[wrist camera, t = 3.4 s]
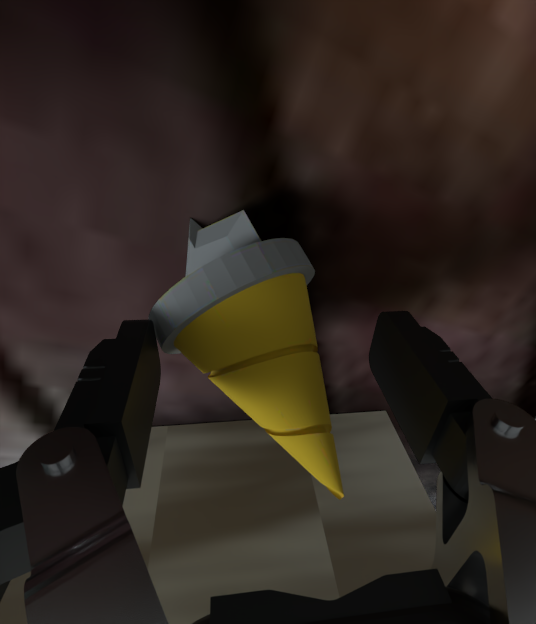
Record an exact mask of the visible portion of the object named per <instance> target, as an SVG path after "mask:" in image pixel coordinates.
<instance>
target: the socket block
mask: <svg viewBox="0 0 536 624" xmlns="http://www.w3.org/2000/svg"><path fill="white" fill-rule="evenodd" d="M330 420H331V425H332V429H331V432H330V433H331V434H333V436H334V442H335V447H336V453H337V459H338V464H339V470H340V475H341V481H342V487H343V493H344V497H343V498H341V500H339V499H338V498H336V497H335V496H334V495H333V494H332V493H331V492H330V491H329V490H328V489H327V487H326V486H325V485H323V484H322V483H320V482H319V481H318V480H317V479H316V478H315V477H314V476H313V475H312V474H311V473H310V472H308V471H307V470H306V469H305V468H304V467H303V466H302V465H301V464H300V463H299V462H298V461H297V460H296V459H295V458H294V457H292V456H291V455H290V454H289V453H288V452H287V451H286V450H285V449H284V448H283V447H282V446H281V445H280V444H279V443H277V442H276V441H275V440H274V439H273V438H272V437H271V436H270V435H269V434H268V433H267V432H266V431H265V429H264V428H262V427H260V426H259V425H258V424H257V423H256V422H255V421H254V420H244V421H230V422H215V423H201V424H187V425H172V426H158V427H152V428H151V433H150V439H149V444H148V449H147V455H146V460H145V465H144V471H143V476H142V482H141V487H140V488H134V489H126V492H125V497H124V502H123V506H122V507H123V509H124V512H125V515H126V517H127V519H128V521H129V523H130V526H131V528H132V531H133V533H134V536H135V539H136V541H137V544H138V546H139V549H140V552H141V554H142V557H143V559H144V562H145V564H146V567H147V570H148V572H149V575H150V577H151V580H152V582H153V585H154V588H155V590H156V593H157V595H158V598H159V601H160V603H161V606H162V608H163V611H164V613H165V616H166V619H167V621H168V624H192V623H194V622H195V621H197V620H198V619H200V618H202V617H204V616H206V615H209V614H210V597H213V596H221V595H229V594H237V593H245V592H253V591H261V590H269V589H270V590H275V591H280V592H286V593H291V594H296V595H301V596H307V597H312V598H317V599H322V600H335V599H338V598H340V597H342V596H344V595H346V594H348V593H350V592H352V591H354V590H356V589H358V588H360V587H362V586H364V585H366V584H368V583H370V582H372V581H374V580H376V579H378V578H380V577H382V576H384V575H388V574H396V573H404V572H412V571H420V570H428V569H431V567H432V564H433V560H434V556H435V546H436V511H435V509H434V507H433V505H432V503H431V501H430V499H429V497H428V495H427V493H426V491H425V489H424V487H423V485H422V483H421V481H420V479H419V477H418V475H417V472H416V470H415V468H414V466H413V464H412V462H411V460H410V458H409V456H408V454H407V452H406V450H405V448H404V446H403V444H402V442H401V440H400V438H399V436H398V434H397V432H396V430H395V428H394V426H393V424H392V422H391V420H390V418H389V416H388V414H387V412H386V411H374V412H359V413H345V414H330ZM30 576H31V571H30V572H28V573H26V574H23V575H21V576H19V577H17V578H14V579H12V580H11V581H10V583H9V585H8V587H7V589H6V591H5V593H4V595H3V597H2V599H1V602H0V624H27V617H26V610H25V602H24V584H25V581H26V579H27V578H29V577H30Z"/></svg>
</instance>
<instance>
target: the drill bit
mask: <svg viewBox="0 0 536 624" xmlns="http://www.w3.org/2000/svg"><path fill="white" fill-rule="evenodd" d="M314 274H315V270H314V268H313V266H312V265H311V263H310V261H309V260H308V258H307V256H306V255H305V253H304V251H303V250H302V248H301V246H300V245H299V243H298V242H297V241H295V240H293V239H289V238H276V239H269V240H265V241H261V240H260V238H259V236H258V234H257V233H256V231H255V229H254V227H253V226H252V224H251V222H250V220H249V219H248V217H247V215H246V213H245V212H244V210H242V211H240V212H238V213H236V214H234V215H231V216H229V217H227V218H225V219H223V220H221V221H218V222H216V223H214V224H212V225H210V226H207V227H205V228H201V227H200V226H199V225H198V224H197V223H196V222H195V221H194V220H192V219H191V218H190V227H189V240H188V253H187V266H186V277H185V278H183V279H182V280H181V281H179V282H178V283H177V284H175V285H174V286H173V287H172V288H170V289H169V290H168V291H167V292H166V293H165V294H164V295H163V296H162V297H161V298H160V299H159V300H158V301H157V303H156V304H155V305H154V306H153V308H152V310H151V312H150V314H149V320H152V321H153V324H154V329H155V335H156V338H157V340H158V342H159V344H160V347H161V349H162V350H163V351H164V352H165V353H168V354H179V353H182V354H183V355H184V356H185V357H187V358H188V359H189V360H190V361H191V362H192V363H193V364H194V365H195V366H196V367H197V368H198V369H199V370H200V371H202V372H203V373H208V372H211V374H210V375H209V376H208V378H209V379H210V380H211V381H212V382H213V383H214V384H215V385H217V386H218V387H219V388H220V389H221V390H222V391H223V392H224V393H225V394H226V395H227V396H228V397H229V398H230V399H231V400H233V401H234V402H235V403H236V404H237V405H238V406H239V407H240V408H241V409H242V410H243V411H244V412H245V413H246V414H248V415H249V416H250V417H251V418H252V419H253V420H254V421H255V422H256V423H257V424H258V425H259V426H260V427H262V428H264V429H265V431H266V432H267V433H268V434H269V435H270V436H271V437H272V438H273V439H274V440H275V441H276V442H277V443H279V444H280V445H281V446H282V447H283V448H284V449H285V450H286V451H287V452H288V453H289V454H290V455H291V456H292V457H294V458H295V459H296V460H297V461H298V462H299V463H300V464H301V465H302V466H303V467H304V468H305V469H306V470H307V471H308V472H310V473H311V474H312V475H313V476H314V477H315V478H316V479H317V480H318V481H319V482H320V483H322V484H323V485H325V486H326V487H327V489H328V490H329V491H330V492H331V493H332V494H333V495H334V496H335V497H336V498H338V499H339V500H341V498H343V497H344V493H343V487H342V481H341V475H340V470H339V464H338V459H337V453H336V447H335V442H334V436H333V434H331V433H330V432H331V429H332V425H331V420H330V414H329V408H328V403H327V397H326V392H325V386H324V381H323V375H322V369H321V364H320V358H319V354H318V353H317V351H318V347H317V341H316V336H315V330H314V325H313V319H312V314H311V308H310V302H309V297H308V291H307V285H308V284H309V282H310V281H311V280H312V278H313V277H314Z"/></svg>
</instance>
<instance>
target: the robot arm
mask: <svg viewBox="0 0 536 624" xmlns="http://www.w3.org/2000/svg"><path fill="white" fill-rule="evenodd" d="M369 363H370V368H371V371H372V373H373V375H374V377H375V379H376V381H377V383H378V385H379V387H380V389H381V390H382V392H383V394H384V396H385V398H386V400H387V402H388V404H389V406H390V408H391V410H392V412H393V414H394V416H395V418H396V420H397V422H398V423H399V425H400V427H401V429H402V431H403V433H404V435H405V437H406V439H407V441H408V443H409V445H410V447H411V449H412V451H413V453H414V454H415V456H416V458H417V460H418V462H419V464H429V463H437V464H438V466H439V468H440V470H441V471H440V473H439V475H438V478H437V499H436V546H435V556H434V560H433V564H432V567H431V569H428V570H420V571H412V572H404V573H396V574H388V575H384V576H382V577H380V578H378V579H376V580H374V581H372V582H370V583H368V584H366V585H364V586H362V587H360V588H358V589H356V590H354V591H352V592H350V593H348V594H346V595H344V596H342V597H340V598H338V599H335V600H322V599H317V598H312V597H307V596H301V595H296V594H291V593H286V592H280V591H275V590H270V589H269V590H261V591H253V592H245V593H237V594H229V595H221V596H213V597H210V614H209V615H206V616H204V617H202V618H200V619H198V620H197V621H195V622H194V623H192V624H536V420H535V419H534V418H533V417H532V416H531V415H529V414H528V413H527V412H526V411H524V410H523V409H521V408H519V407H517V406H516V405H514V404H511V403H509V402H506V401H503V400H498V399H492V398H491V396H490V395H489V394H488V393H487V392H486V391H485V389H484V388H483V387H482V386H481V385H480V383H479V382H478V381H477V380H476V379H475V378H474V376H473V375H472V374H471V373H470V372H469V370H468V369H467V368H466V367H465V366H464V364H463V363H462V362H459V359H458V357H457V356H456V355H455V354H454V353H453V352H451V351H450V348H449V347H448V345H447V344H446V343H445V342H444V341H443V340H442V338H441V337H440V336H438V335H437V334H435V333H434V332H432V331H431V330H429V329H428V328H426V327H421V326H420V325H419V324H418V323H417V321H416V320H415V319H414V318H413V316H412V315H411V314H410V313H409V312H408V311H393V312H381V313H380V314H379V316H378V319H377V323H376V327H375V331H374V335H373V339H372V343H371V347H370V352H369ZM160 376H161V368H160V359H159V353H158V347H157V341H156V335H155V329H154V324H153V321H152V320H124V321H123V322H122V324H121V326H120V329H119V332H118V334H117V337H116V339H103V340H102V341H101V342H100V343H99V344H98V345H97V346H96V347H95V348H94V349H93V350H92V351H90V353H89V355H88V357H87V359H86V362H85V364H84V366H83V369H82V370H81V373H80V375H79V377H78V382H76V384H75V386H74V388H73V390H72V392H71V394H70V397H69V399H68V401H67V403H66V405H65V408H64V410H63V412H62V414H61V416H60V419H59V421H58V423H57V425H56V427H55V429H54V431H52V432H50V433H48V434H46V435H44V436H42V437H41V438H39V439H38V440H36V441H35V442H34V443H33V444H31V445H30V446H29V447H28V448H27V450H26V451H25V452H24V453H23V455H22V456H21V458H20V460H19V461H18V462H16V463H13V464H11V465H8V466H5V467H2V468H0V602H1V599H2V597H3V595H4V593H5V591H6V589H7V587H8V585H9V583H10V581H11V580H12V579H14V578H17V577H19V576H21V575H23V574H26V573H28V572H30V571H31V576H30V577H29V578H27V579H26V581H25V584H24V602H25V610H26V617H27V624H168V621H167V619H166V616H165V613H164V611H163V608H162V606H161V603H160V601H159V598H158V595H157V593H156V590H155V588H154V585H153V582H152V580H151V577H150V575H149V572H148V570H147V567H146V564H145V562H144V559H143V557H142V554H141V552H140V549H139V546H138V544H137V541H136V539H135V536H134V533H133V531H132V528H131V526H130V523H129V521H128V519H127V517H126V515H125V512H124V509H123V507H122V506H123V502H124V497H125V492H126V489H134V488H140V487H141V482H142V476H143V471H144V465H145V460H146V455H147V449H148V444H149V439H150V433H151V428H152V422H153V417H154V412H155V406H156V401H157V396H158V390H159V385H160Z"/></svg>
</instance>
